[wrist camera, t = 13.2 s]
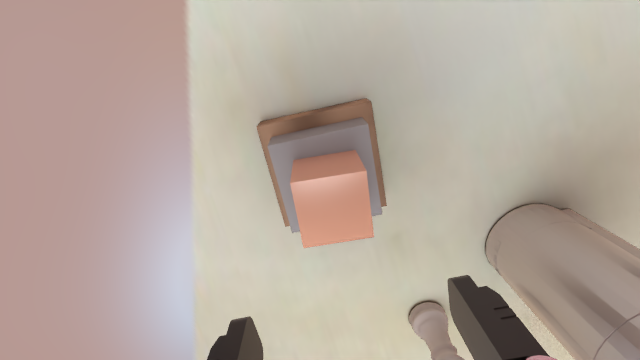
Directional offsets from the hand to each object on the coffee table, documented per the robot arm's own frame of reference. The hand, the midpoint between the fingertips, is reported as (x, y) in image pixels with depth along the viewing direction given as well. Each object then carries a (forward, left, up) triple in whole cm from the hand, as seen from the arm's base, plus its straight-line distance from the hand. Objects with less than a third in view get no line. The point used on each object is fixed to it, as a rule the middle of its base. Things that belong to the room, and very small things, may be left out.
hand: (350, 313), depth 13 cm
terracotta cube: (0, 0, -14) cm, 14 cm away
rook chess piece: (-8, +22, -20) cm, 31 cm away
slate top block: (0, 0, -17) cm, 17 cm away
